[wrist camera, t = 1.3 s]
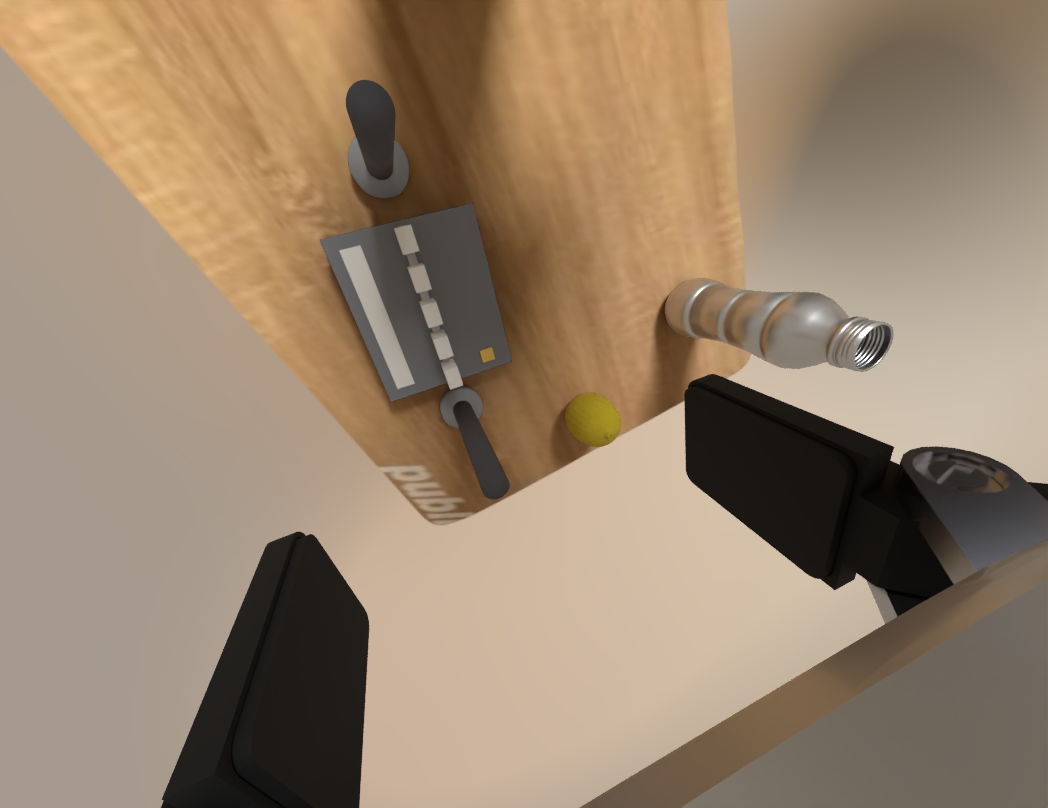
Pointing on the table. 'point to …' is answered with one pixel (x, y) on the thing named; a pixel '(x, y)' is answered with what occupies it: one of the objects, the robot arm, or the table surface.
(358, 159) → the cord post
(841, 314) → the plastic bottle
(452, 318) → the breaker panel
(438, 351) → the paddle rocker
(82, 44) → the table surface
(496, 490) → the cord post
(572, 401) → the lemon
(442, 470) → the table surface
